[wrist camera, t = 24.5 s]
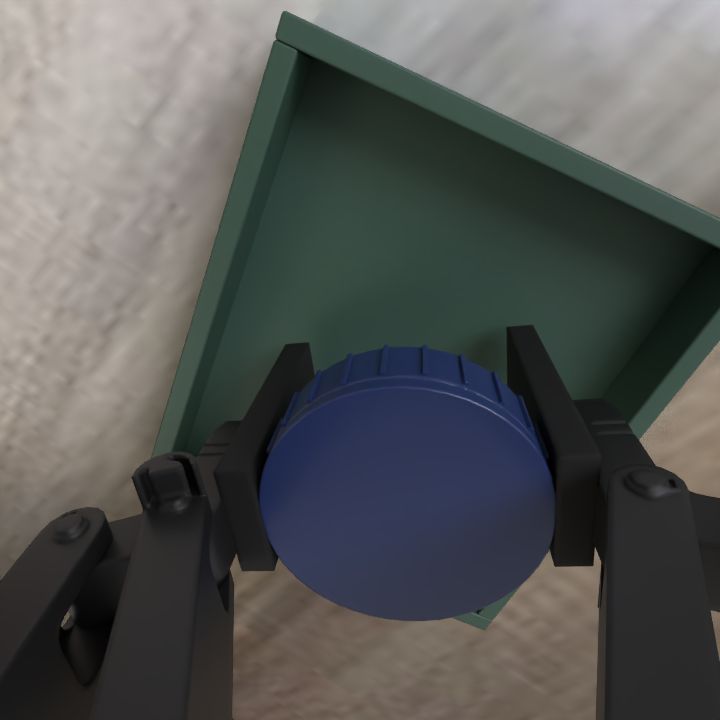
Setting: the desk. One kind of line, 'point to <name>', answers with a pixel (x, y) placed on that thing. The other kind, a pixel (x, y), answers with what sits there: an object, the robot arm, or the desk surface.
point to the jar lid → (408, 486)
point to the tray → (435, 247)
